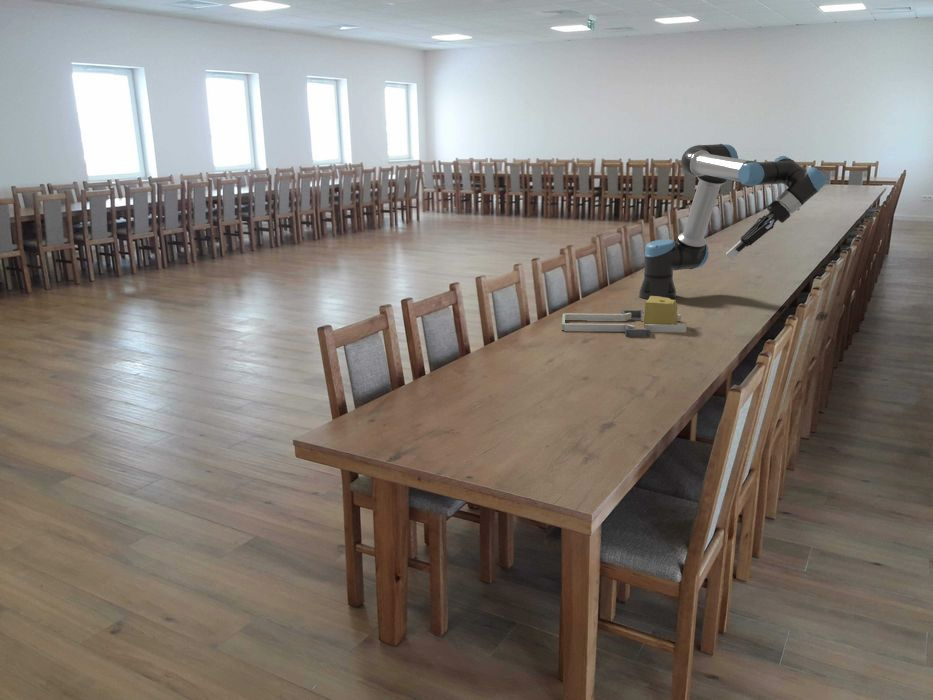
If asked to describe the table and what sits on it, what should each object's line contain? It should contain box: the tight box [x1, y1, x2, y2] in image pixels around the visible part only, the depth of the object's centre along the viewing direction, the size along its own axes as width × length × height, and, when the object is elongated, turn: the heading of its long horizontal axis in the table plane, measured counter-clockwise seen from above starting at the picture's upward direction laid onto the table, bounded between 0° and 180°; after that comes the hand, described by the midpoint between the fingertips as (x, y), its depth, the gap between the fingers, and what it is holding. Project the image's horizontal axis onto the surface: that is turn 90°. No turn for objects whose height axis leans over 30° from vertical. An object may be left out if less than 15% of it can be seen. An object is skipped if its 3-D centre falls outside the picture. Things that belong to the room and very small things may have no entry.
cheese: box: [643, 296, 678, 329], centre depth 270 cm, size 10×11×10 cm
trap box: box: [561, 309, 687, 338], centre depth 273 cm, size 29×43×2 cm
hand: (728, 256), depth 261 cm, fingers closed
